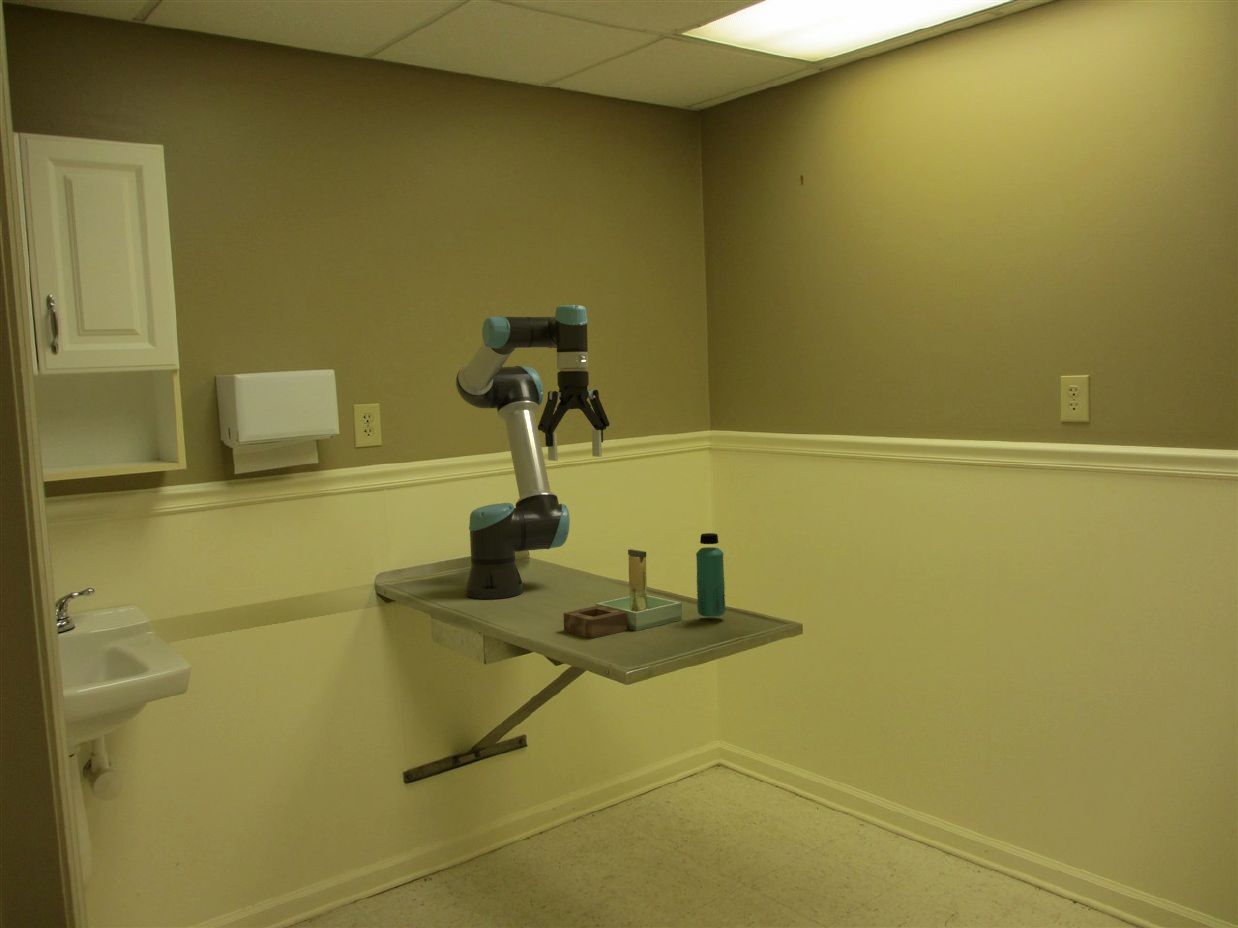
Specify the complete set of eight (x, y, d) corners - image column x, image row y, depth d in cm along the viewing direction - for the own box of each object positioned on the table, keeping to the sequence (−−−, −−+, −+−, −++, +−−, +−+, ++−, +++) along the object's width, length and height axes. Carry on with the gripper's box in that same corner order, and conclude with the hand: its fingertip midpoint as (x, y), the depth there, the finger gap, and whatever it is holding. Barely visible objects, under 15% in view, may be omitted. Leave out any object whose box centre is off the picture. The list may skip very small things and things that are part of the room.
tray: (596, 620, 231) (595, 603, 231) (641, 610, 240) (640, 593, 240) (636, 630, 220) (636, 612, 220) (681, 619, 229) (681, 602, 229)
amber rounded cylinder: (624, 615, 231) (623, 550, 230) (637, 612, 233) (636, 548, 232) (639, 619, 227) (638, 553, 226) (652, 616, 229) (651, 550, 228)
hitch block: (564, 630, 222) (563, 612, 222) (598, 622, 229) (598, 605, 228) (592, 638, 215) (591, 620, 214) (627, 630, 221) (626, 612, 221)
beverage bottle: (728, 622, 226) (726, 535, 224) (699, 623, 225) (697, 536, 223) (722, 615, 232) (721, 530, 230) (694, 617, 232) (692, 532, 230)
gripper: (540, 370, 229) (543, 462, 230) (622, 369, 245) (624, 455, 247) (521, 371, 234) (524, 461, 236) (602, 370, 250) (604, 454, 252)
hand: (575, 458), depth 241 cm, fingers open, 13 cm apart
